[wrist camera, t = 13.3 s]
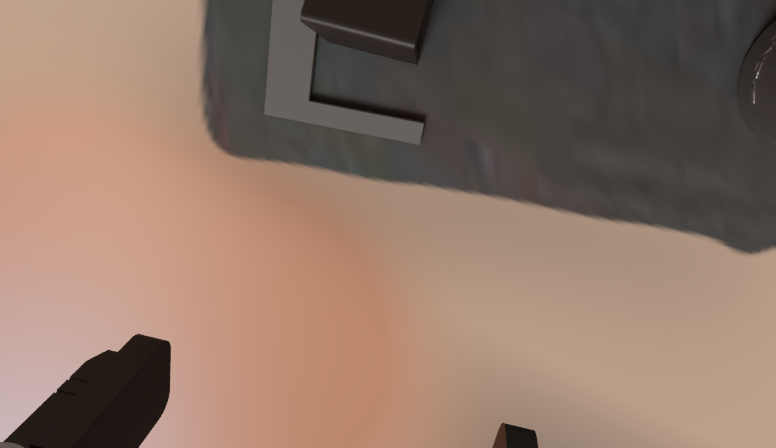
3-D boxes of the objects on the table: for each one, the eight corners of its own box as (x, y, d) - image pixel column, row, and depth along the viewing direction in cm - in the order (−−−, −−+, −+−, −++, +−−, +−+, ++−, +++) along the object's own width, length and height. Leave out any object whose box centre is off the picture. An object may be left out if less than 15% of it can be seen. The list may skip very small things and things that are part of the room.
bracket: (475, -139, 32) (475, -141, 32) (420, 142, 39) (419, 144, 39) (288, -171, 33) (285, -173, 32) (266, 112, 40) (264, 114, 39)
